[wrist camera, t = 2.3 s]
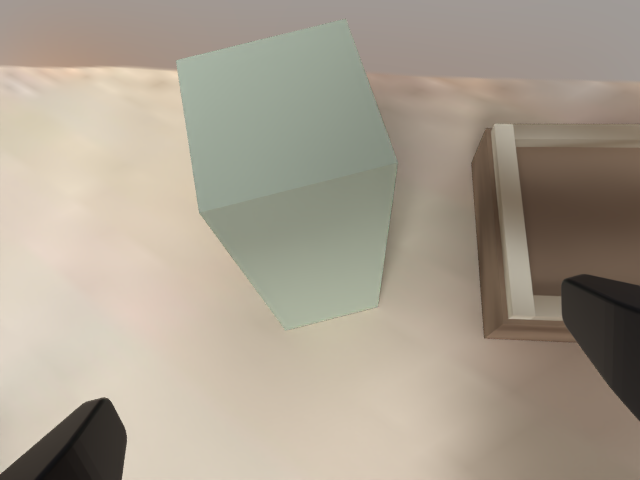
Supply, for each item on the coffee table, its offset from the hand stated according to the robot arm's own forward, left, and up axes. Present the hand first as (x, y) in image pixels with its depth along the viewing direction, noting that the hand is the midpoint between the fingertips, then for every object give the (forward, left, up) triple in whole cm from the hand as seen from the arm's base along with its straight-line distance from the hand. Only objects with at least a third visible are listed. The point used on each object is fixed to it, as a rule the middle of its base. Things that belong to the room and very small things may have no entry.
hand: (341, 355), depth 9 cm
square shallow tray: (+13, +1, -12) cm, 17 cm away
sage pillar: (+2, +6, -12) cm, 13 cm away
